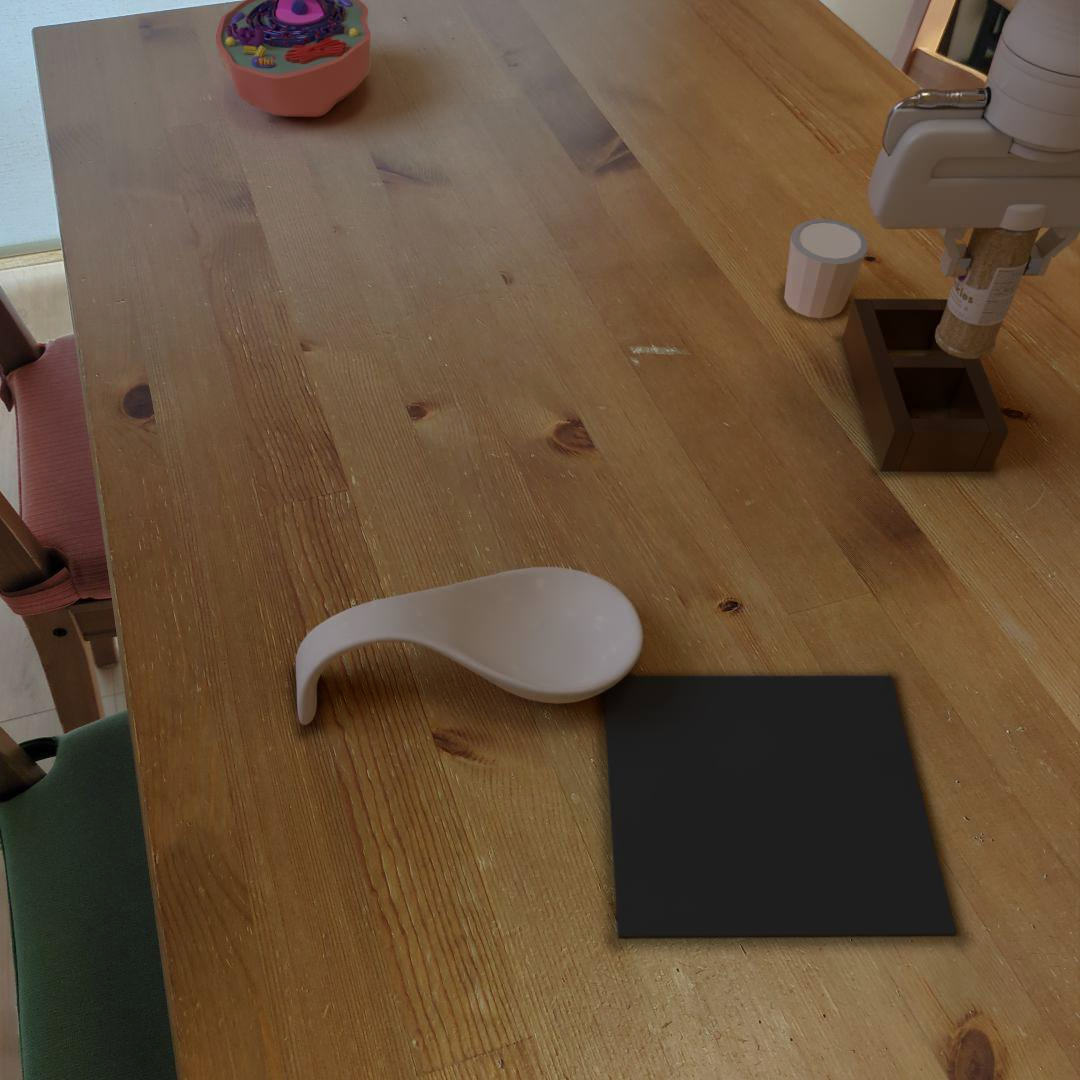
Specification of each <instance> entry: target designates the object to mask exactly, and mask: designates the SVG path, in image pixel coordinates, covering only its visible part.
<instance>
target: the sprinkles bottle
mask: <svg viewBox="0 0 1080 1080" xmlns="http://www.w3.org/2000/svg"><path fill="white" fill-rule="evenodd" d="M1047 208H1048V207H1047V206H1046V205H1042V204H1017V205H1011V206H1009V207H1008V208H1007V210H1006V212H1005V215H1004V218H1003V221H1002V222H1001V224H1000V225H999V227H1000V228H972V229H973V230H972V232H971V235H970V238H969V241H968V244H967V248H968V251H967V252H969V253H970V255H971V257H972V260H971V263H970V266H969V267H968V268H967V274H966V276H959V277H954V280H953V283H952V286H951V290H950V291H949V294H948V297H947V299H948V301H947V305H946V308H945V311H944V313H943V316H942V319H941V322H940V324H939V325H938V327H937V328H936V333H935V339H936V342H937V344H938V345H939V347H940V348H941V349H942V350H944V351H945V352H947V353H948V354H950V355H952V356H956V357H958V358H963V359H977V358H984V357H986V356H989V355H990V354H991V353H992V352H993V350H994V348H995V347H996V339H997V337H998V335H999V332H1000V329H1001V327H1002V325H1003V322H1004V321H1005V319H1006V317H1007V315H1008V313H1009V310H1010V308H1011V305H1012V303H1013V300H1014V298H1015V295H1016V293H1017V290H1018V288H1019V286H1020V283H1021V280H1022V278H1023V273H1024V270H1025V268H1026V266H1027V263H1028V261H1029V258H1030V254H1031V251H1032V248H1033V246H1034V243H1035V242H1036V241H1037V238H1038V235H1039V232H1040V230H1041V229H1042V228H1039V227H1040V226H1042V222H1043V219H1044V216H1045V214H1046V211H1047Z"/></svg>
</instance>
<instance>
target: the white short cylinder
mask: <svg viewBox="0 0 1080 1080" xmlns="http://www.w3.org/2000/svg"><path fill="white" fill-rule="evenodd" d="M868 243H869V242H868V239H867V238H866V236H865V235H864V234H863V232H862V231H860V230H859V229H857V227H855V226H853V225H852V224H850V223H846V222H843V221H841V220H838V219H831V218H815V219H808V220H805V221H803V222H801V223H799V224H797V225H796V226H795V228H794V229H793V230H792V231H791V234H790V243H789V250H788V251H789V252H788V259H787V260H788V261H787V268H786V269H787V270H786V279H785V286H784V301H785V303H786V304H787V306H788V308H790V309H792V310H793V311H794V312H796V313H797V314H799V315H802V316H805V317H807V318H815V319H827V318H833V317H835V316H837V315H839V314H840V313H842V311H843V310H844V308H845V307H846V305H847V302H848V300H849V297H850V295H851V292H852V290H853V287H854V285H855V282H856V280H857V277H858V275H859V272H860V270H861V268H862V265H863V263H864V260H865V258H866V255H867V254H868V251H869V244H868Z"/></svg>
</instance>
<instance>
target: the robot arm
mask: <svg viewBox="0 0 1080 1080" xmlns="http://www.w3.org/2000/svg"><path fill="white" fill-rule="evenodd" d="M881 145H882V147H881V148H880V151H879V154H878V156H877V159H876V161H875V164H874V167H873V169H872V172H871V175H870V178H869V181H868V185H867V189H866V198H867V203H868V206H869V210H870V211H871V214H872V216H873V217H874V219H875V220H876V222H877V223H878V224H879V225H880V227H881V228H883V229H885V230H924V229H925V230H930V229H931V230H933V229H934V230H935V229H937V230H938V231H939V234H940V237H941V240H942V242H943V245H944V247H943V251H942V254H941V256H940V260H939V268H940V271H941V273H942V276H943V277H944V278H945V277H946V278H947V277H948V278H949V277H951V278H956V277H959V276H966V274H967V268H968V267H969V266H970V263H971V260H972V257H971V255H970V253H969V252H967V251H968V248H967V247H968V245H967V244H966V243H957V242H956V240H962V239H964V238H965V235H966V233H967V231H968V229H974V228H1000V227H999V225H1000V224H1001V222H1002V221H1003V218H1004V215H1005V212H1006V210H1007V208H1008V207H1009V206H1011V205H1017V204H1042V205H1046V206H1047V207H1048V208H1047V211H1046V214H1045V216H1044V219H1043V222H1042V226H1040V227H1039V228H1041V229H1047V230H1045V232H1044V233H1043V234H1042V235H1041V236H1040V237H1039V238H1038V239H1036V241H1035V243H1034V246H1033V248H1032V251H1031V254H1030V258H1029V261H1028V263H1027V266H1026V268H1025V270H1024V273H1023V276H1025V277H1027V276H1028V277H1043V276H1045V275H1046V272H1047V270H1048V268H1049V265H1050V263H1051V260H1052V258H1055V257H1056V256H1057V255H1059V254H1060V253H1062V251H1064V249H1066V248H1067V247H1068V246H1070V245H1071V244H1072V243H1073V242H1074V241H1076V240H1077V239H1078V237H1079V234H1080V0H1017V1H1016V3H1015V5H1014V6H1013V8H1012V9H1011V11H1010V12H1009V14H1008V15H1007V18H1006V19H1005V21H1004V23H1003V26H1002V29H1001V33H1000V35H999V39H998V42H997V44H996V49H995V50H994V54H993V57H992V60H991V64H990V67H989V69H988V74H987V77H986V80H985V82H984V86H983V87H980V88H979V87H977V88H955V89H949V90H948V89H947V90H943V89H942V90H940V89H938V88H923V89H919V90H916V91H915V93H914V95H911V96H908V97H906V98H904V99H901V101H899V102H898V103H896V104H895V105H893V106H891V109H890V110H889V112H888V113H887V116H886V121H885V124H884V128H883V132H882V136H881ZM1023 276H1022V277H1023Z"/></svg>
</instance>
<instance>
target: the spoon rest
mask: <svg viewBox="0 0 1080 1080" xmlns="http://www.w3.org/2000/svg"><path fill="white" fill-rule="evenodd" d="M381 643H403V644H404V643H406V644H412V645H416V646H420V647H423V648H425V649H428V650H431V651H434V652H436V653H438V654H440V655H442V656H444V657H446V658H448V659H450V660H451V661H453V662H455V663H457V664H459V665H460V666H462V667H464V668H466V669H468V670H469V671H470V672H473V673H474V674H476V675H478V676H479V677H481V678H482V679H484V680H486V681H487V682H489V683H491V684H493V685H495V686H497V687H498V688H499V689H502V690H504V691H506V692H507V693H510V694H512V695H514V696H517V697H519V698H523V699H526V700H530V701H534V702H538V703H546V704H570V703H577V702H580V701H584V700H588V699H590V698H594V697H596V696H598V695H600V694H602V693H604V691H606V690H607V689H609V688H611V687H613V686H614V685H615V684H617V683H618V682H619V681H620V680H622V679H623V678H624V677H625V676H628V674H629V673H630V672H631V671H632V669H633V668H634V667H635V666H636V664H637V662H638V660H639V659H640V657H641V653H642V650H643V646H644V631H643V626H642V621H641V618H640V616H639V613H638V611H637V609H636V607H635V606H634V604H633V603H632V601H631V600H630V599H629V598H628V597H627V595H625V594H624V593H623V591H622V590H620V589H619V588H618V587H617V586H615V585H614V584H612V583H611V582H609V581H608V580H605V579H604V578H601V577H599V576H598V575H595V574H592V573H589V572H585V571H582V570H579V569H575V568H574V569H573V568H566V567H558V566H557V567H556V566H535V567H525V568H518V569H512V570H506V571H501V572H498V573H494V574H490V575H485V576H482V577H481V576H480V577H476V578H472V579H469V580H464V581H459V582H454V583H452V584H446V585H443V586H438V587H432V588H429V589H424V590H418V591H414V592H408V593H404V594H399V595H394V596H388V597H383V598H378V599H374V600H370V601H367V602H363V603H361V604H357V605H355V606H353V607H350V608H347V609H345V610H343V611H341V612H338V613H336V614H334V615H332V616H330V617H329V618H326V619H325V620H323V621H322V622H321V623H319V624H317V625H316V626H314V628H313V629H312V630H310V631H309V632H308V634H307V635H305V637H304V639H303V640H302V641H301V643H300V645H299V647H298V649H297V651H296V652H297V653H296V656H295V680H296V681H295V682H296V683H295V685H296V705H297V706H296V708H297V716H298V721H299V723H300V724H301V725H303V726H304V725H305V726H306V725H308V724H311V722H312V721H313V720H314V717H315V716H316V713H317V706H318V691H317V690H318V689H317V688H318V681H319V679H320V677H321V676H322V673H323V672H324V671H325V669H327V667H328V666H329V665H330V664H331V663H333V662H334V661H335V660H337V659H339V658H340V657H343V656H344V655H346V654H348V653H350V652H353V651H355V650H358V649H361V648H363V647H367V646H370V645H371V646H372V645H375V644H381Z"/></svg>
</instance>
